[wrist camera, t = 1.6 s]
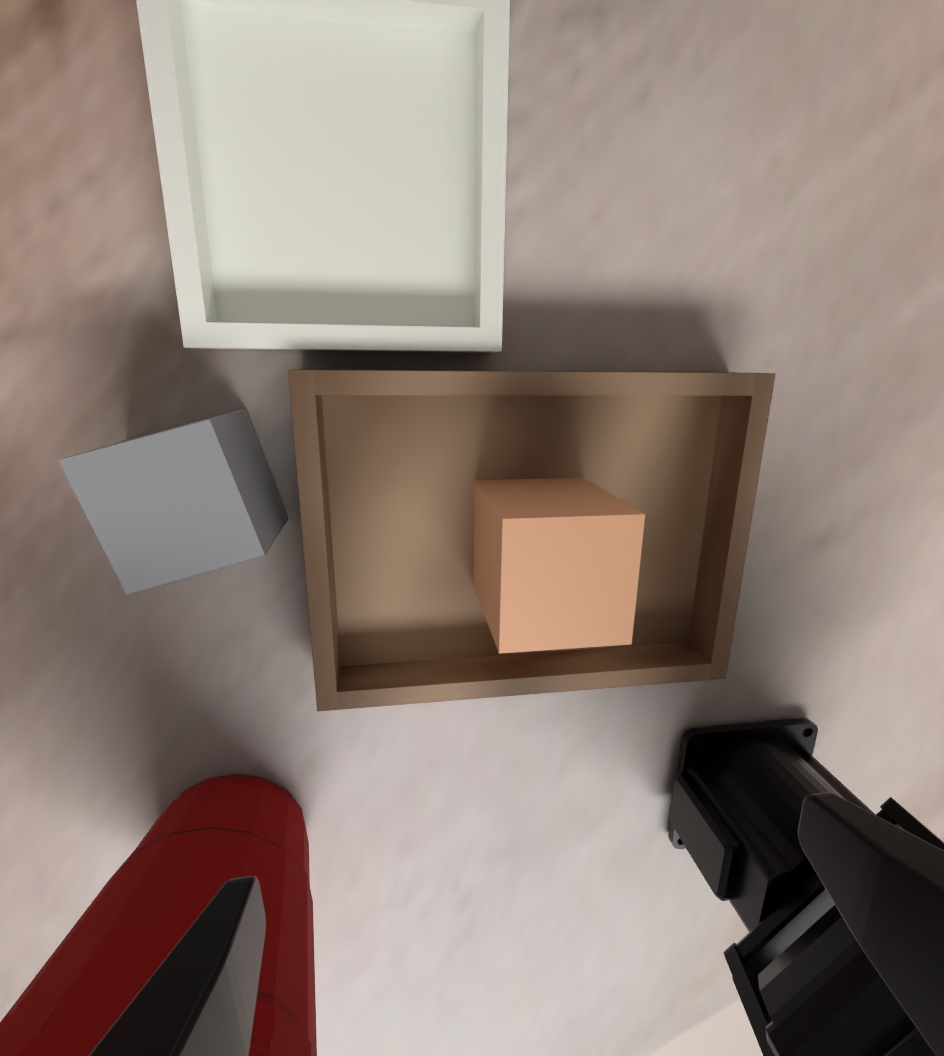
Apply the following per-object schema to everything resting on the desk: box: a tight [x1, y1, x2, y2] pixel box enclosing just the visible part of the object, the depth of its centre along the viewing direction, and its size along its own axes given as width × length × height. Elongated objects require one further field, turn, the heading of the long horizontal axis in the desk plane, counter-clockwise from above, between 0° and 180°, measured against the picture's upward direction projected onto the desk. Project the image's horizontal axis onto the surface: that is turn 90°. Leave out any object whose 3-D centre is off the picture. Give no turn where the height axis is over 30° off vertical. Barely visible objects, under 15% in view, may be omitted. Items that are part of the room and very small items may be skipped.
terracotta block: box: [473, 478, 645, 654], centre depth 18 cm, size 4×4×5 cm
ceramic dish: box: [136, 0, 510, 352], centre depth 16 cm, size 9×9×2 cm
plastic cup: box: [0, 775, 317, 1056], centre depth 17 cm, size 11×11×12 cm
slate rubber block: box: [58, 408, 288, 595], centre depth 17 cm, size 4×4×4 cm
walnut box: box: [288, 369, 775, 711], centre depth 20 cm, size 15×11×2 cm
